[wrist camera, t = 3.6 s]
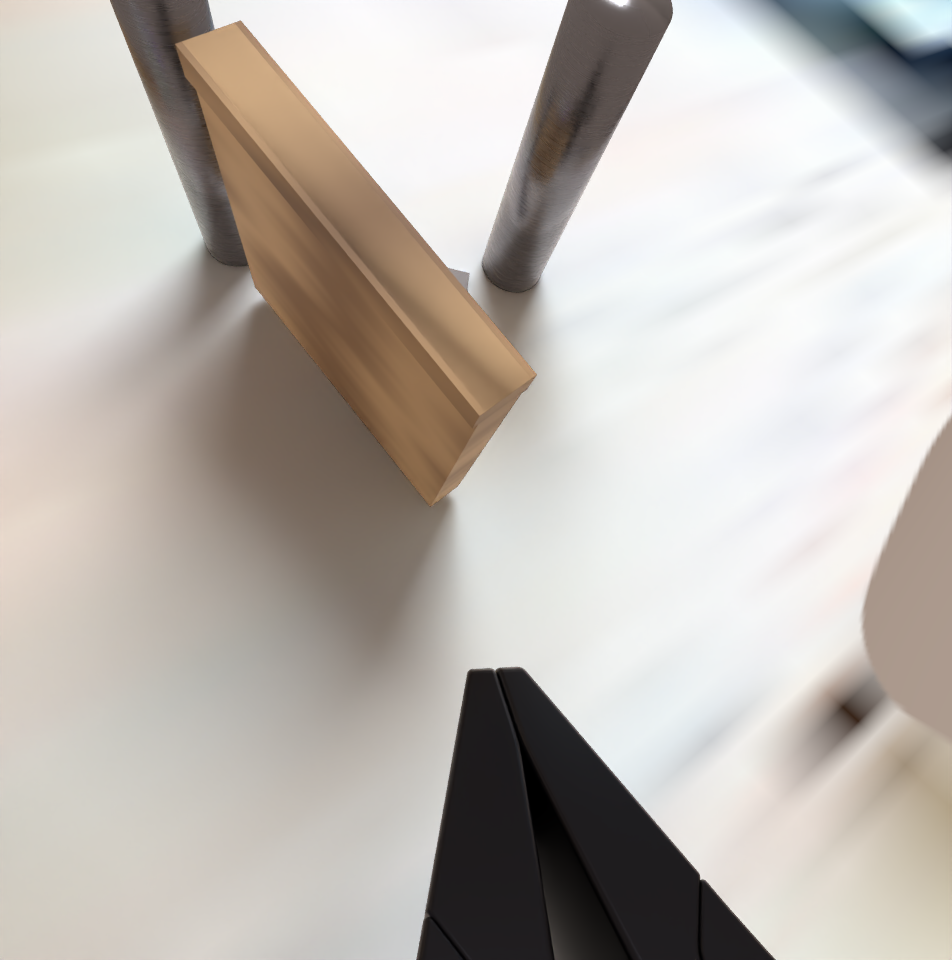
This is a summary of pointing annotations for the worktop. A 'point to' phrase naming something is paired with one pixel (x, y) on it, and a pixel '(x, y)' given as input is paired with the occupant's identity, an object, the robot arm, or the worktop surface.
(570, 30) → the post
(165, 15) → the hinge post
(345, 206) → the light wooden flat block
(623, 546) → the worktop surface
